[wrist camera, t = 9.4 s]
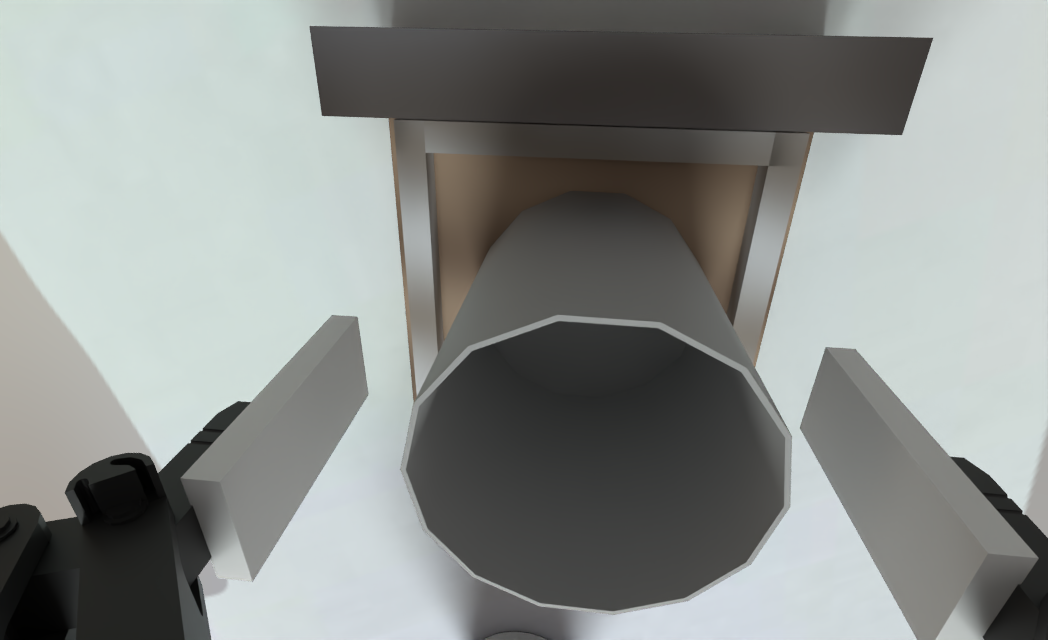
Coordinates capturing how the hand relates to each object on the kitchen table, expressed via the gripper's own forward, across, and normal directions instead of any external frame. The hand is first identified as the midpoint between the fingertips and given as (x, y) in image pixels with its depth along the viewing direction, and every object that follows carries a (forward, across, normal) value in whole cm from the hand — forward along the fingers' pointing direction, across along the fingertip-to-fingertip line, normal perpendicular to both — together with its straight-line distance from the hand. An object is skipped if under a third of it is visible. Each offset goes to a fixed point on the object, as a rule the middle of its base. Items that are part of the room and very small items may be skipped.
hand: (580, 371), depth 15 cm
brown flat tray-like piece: (+7, 0, +1) cm, 7 cm away
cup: (+6, 0, 0) cm, 6 cm away
